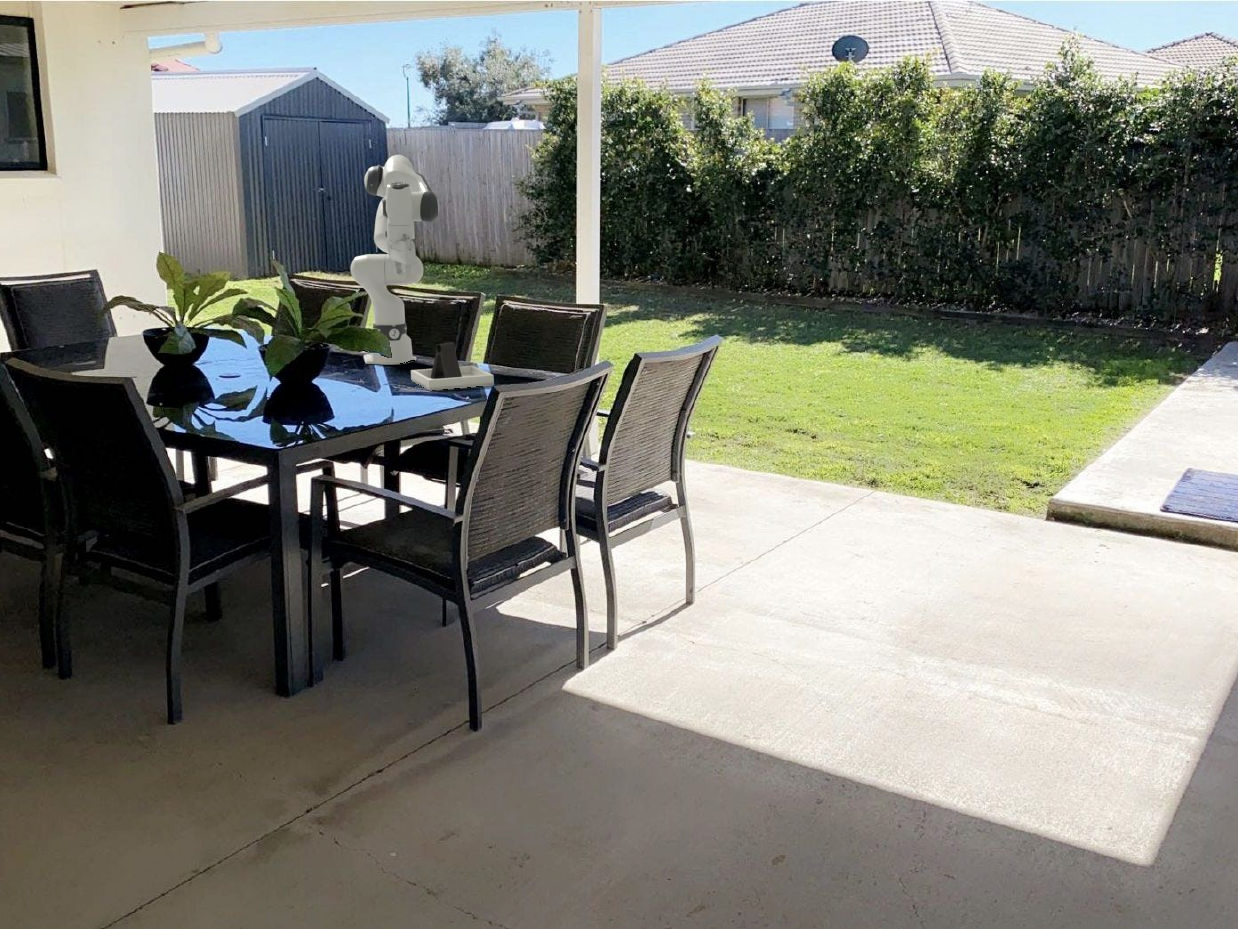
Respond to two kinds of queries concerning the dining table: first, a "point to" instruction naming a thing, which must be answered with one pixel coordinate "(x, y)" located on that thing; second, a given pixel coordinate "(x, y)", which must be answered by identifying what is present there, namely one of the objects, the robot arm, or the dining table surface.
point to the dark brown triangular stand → (445, 362)
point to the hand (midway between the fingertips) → (403, 275)
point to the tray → (453, 379)
